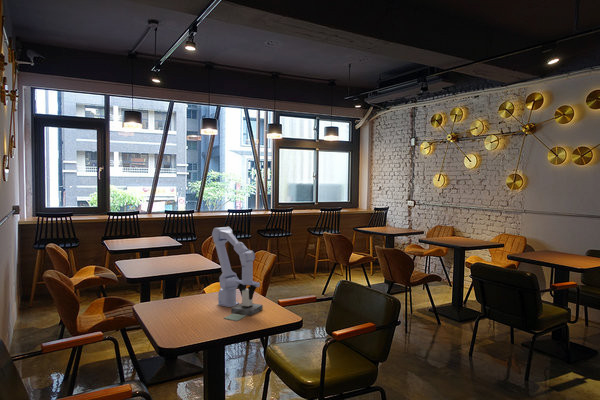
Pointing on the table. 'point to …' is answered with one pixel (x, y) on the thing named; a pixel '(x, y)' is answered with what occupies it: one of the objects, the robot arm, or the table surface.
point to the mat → (235, 317)
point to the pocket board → (247, 309)
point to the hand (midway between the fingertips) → (247, 298)
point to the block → (246, 298)
